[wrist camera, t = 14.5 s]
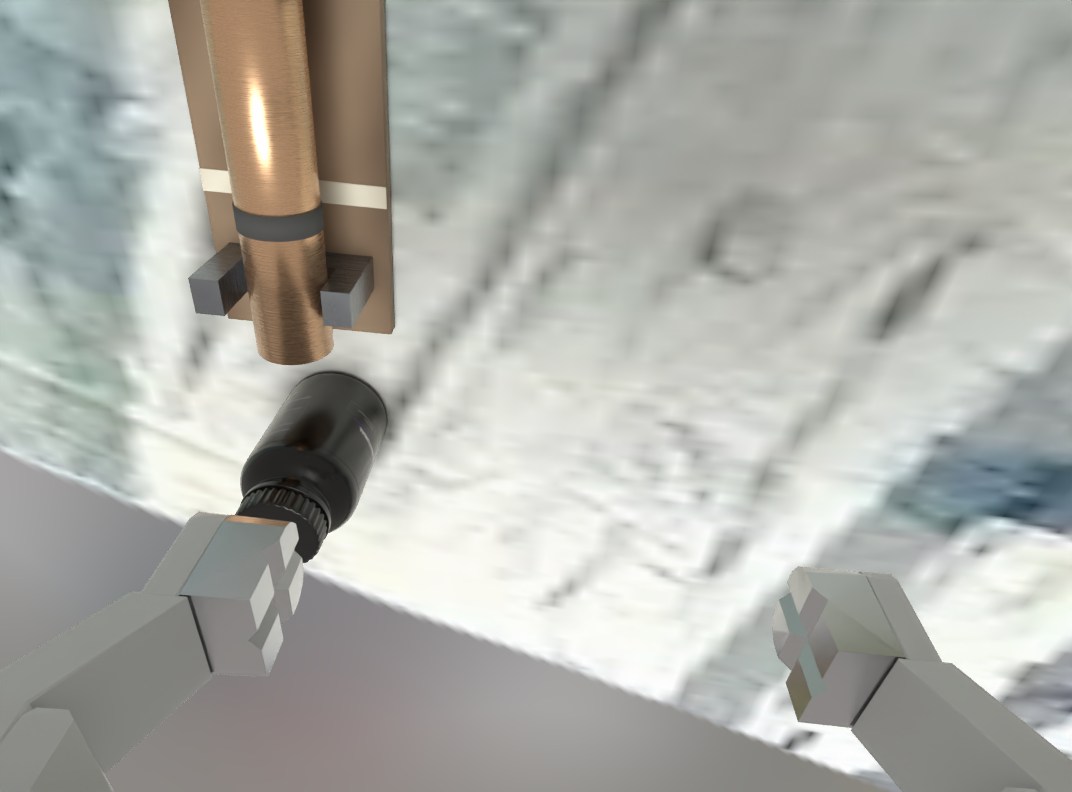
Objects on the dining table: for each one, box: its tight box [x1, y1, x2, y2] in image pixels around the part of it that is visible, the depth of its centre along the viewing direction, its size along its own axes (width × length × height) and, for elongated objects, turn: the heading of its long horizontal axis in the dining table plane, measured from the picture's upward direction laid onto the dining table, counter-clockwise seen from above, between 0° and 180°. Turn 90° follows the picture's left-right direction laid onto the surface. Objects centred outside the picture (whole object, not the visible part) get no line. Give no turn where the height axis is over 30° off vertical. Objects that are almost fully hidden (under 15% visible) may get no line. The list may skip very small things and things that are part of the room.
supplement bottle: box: [235, 373, 387, 563], centre depth 40 cm, size 7×7×12 cm
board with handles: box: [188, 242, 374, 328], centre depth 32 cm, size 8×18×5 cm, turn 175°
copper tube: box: [200, 0, 334, 365], centre depth 31 cm, size 22×4×4 cm, turn 175°
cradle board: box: [168, 0, 395, 334], centre depth 34 cm, size 10×24×1 cm, turn 175°
